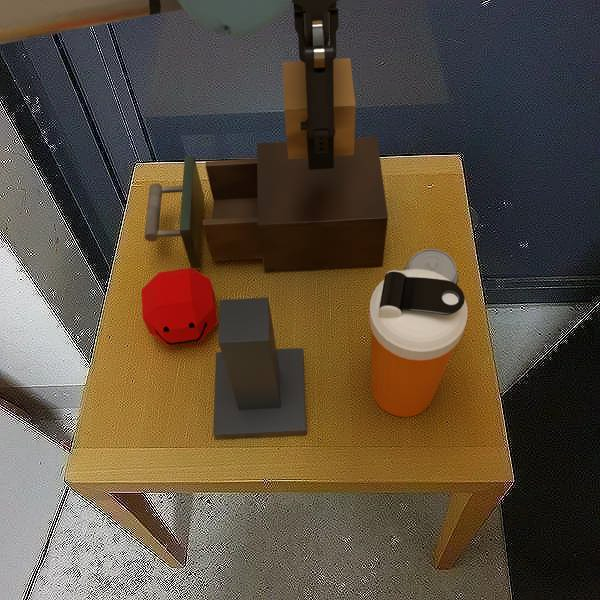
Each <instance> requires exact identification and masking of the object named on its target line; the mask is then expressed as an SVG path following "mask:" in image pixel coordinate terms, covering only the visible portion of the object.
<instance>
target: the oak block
mask: <svg viewBox="0 0 600 600" xmlns="http://www.w3.org/2000/svg"><path fill="white" fill-rule="evenodd" d="M351 61H352V60H351V58H350V57H346V58H345V57H344V58H335V59H334V61H333V85H334V128H335V136H334V156H352V155H354V138H356V137H355V134H356V129H355V128H356V98H355V89H354V88H355V87H354V79H353V69H352V62H351ZM282 80H283V81H282V82H283V111H284V123H285V135H286V142H287V148H288V159H299V158H308V146H307V130H301V126H300V122H303V121H306V120H308V114H307V94H306V74H305V63H304V62H302V61H301V60H295V61H282Z"/></svg>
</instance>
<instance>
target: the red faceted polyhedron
mask: <svg viewBox="0 0 600 600" xmlns="http://www.w3.org/2000/svg"><path fill="white" fill-rule="evenodd" d="M216 302H217V301H216V294H215V290H214V287H213V283H212V279H211V278H210V277H208V276H206V275H204V274H203V273H201V272H199V271H198V270H196V269H193V268H191V267H187V268H186V267H185V268H179V269H172V270H165V271H158V272H157V273H156V275H154V277H153V278H151V279H150V280H149V282H148V283H147V284H145V286H144V287H143V288H141V311H142V312H141V313H142V315H141V316H142V320H143V322H144V324H145V327H146V329H147V331H148V334H150V335H152V337H154V338H156V339H157V340H159V341H160V342H162V343H163V344H165V345H166V346H168V347H170V346H171V347H172V346H174V345H175V346H176V345H182V344H188V343H194V342H202V341H203V340H204V339H205V338H206V337H207V336H208V335H209V333H210V332H211V331H212V330H213V329H214V327H216V326H217V325H218V324H219V319H218V311H217V310H218V309H217V303H216Z"/></svg>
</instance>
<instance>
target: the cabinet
mask: <svg viewBox="0 0 600 600" xmlns="http://www.w3.org/2000/svg"><path fill="white" fill-rule="evenodd" d="M378 140H379V139H378V136H376V135H375V136H360V137H359V136H358V137H355V138H354V155H352V156H334V168H331V169H314V170H309V166H308V158H299V159H288V148H287V141H270V142H257V143H256V159H257V225H258V232H259V238H260V245H261V251H262V258H261V259H262V263H263V270H264V274H273V273H288V272H289V273H291V272H292V273H293V272H309V271H310V272H311V271H328V270H347V269H366V268H367V269H368V268H383V267H384V258H385V247H386V238H387V229H388V216H389V215H388V209H387V203H386V195H385V186H384V178H383V171H382V163H381V156H380V155H381V154H380V147H379V141H378Z"/></svg>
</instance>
